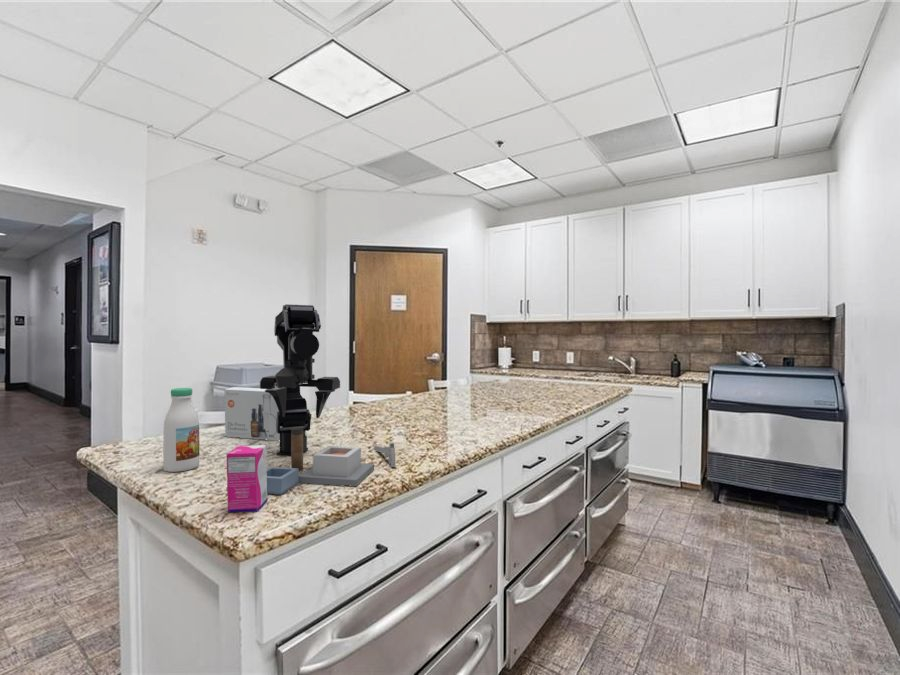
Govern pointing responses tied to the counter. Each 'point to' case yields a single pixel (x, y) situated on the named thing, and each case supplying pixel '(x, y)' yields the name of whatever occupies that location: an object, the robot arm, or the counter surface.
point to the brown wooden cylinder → (297, 448)
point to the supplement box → (246, 478)
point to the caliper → (387, 452)
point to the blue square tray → (281, 479)
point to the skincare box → (250, 414)
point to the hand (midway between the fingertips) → (300, 417)
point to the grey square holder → (337, 467)
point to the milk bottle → (181, 433)
